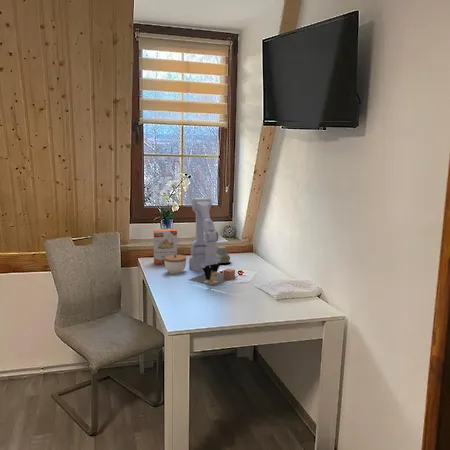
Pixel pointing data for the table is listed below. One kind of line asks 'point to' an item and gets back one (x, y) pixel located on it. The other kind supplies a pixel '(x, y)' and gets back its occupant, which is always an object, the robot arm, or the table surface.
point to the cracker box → (164, 244)
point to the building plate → (202, 280)
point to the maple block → (212, 276)
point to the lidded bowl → (175, 263)
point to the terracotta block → (229, 274)
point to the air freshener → (222, 254)
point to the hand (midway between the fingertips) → (210, 278)
